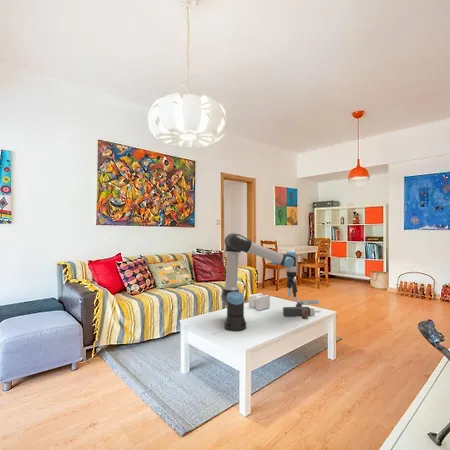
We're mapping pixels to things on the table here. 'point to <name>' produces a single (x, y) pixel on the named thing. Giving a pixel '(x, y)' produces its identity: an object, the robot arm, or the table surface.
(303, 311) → the brown wooden bar
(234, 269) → the robot arm
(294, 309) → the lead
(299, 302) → the latch
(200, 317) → the table surface
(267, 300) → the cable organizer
